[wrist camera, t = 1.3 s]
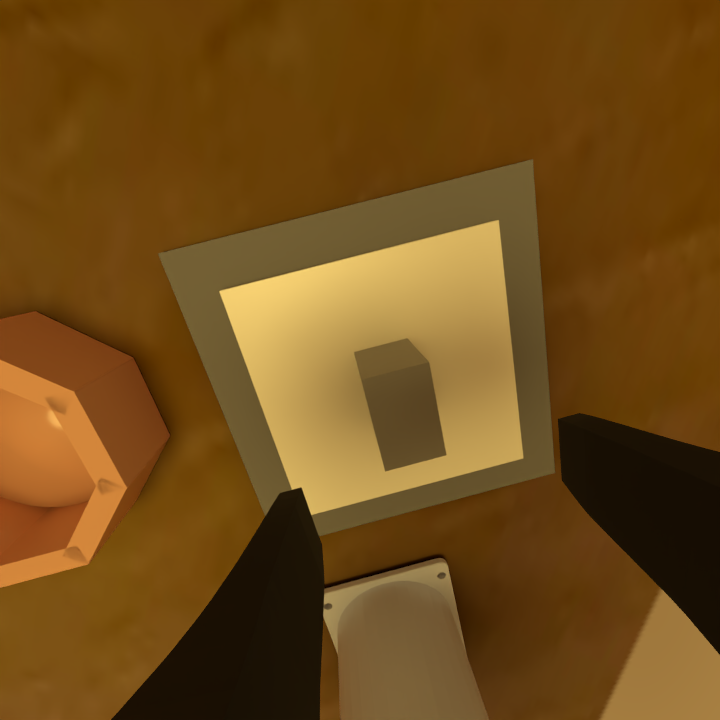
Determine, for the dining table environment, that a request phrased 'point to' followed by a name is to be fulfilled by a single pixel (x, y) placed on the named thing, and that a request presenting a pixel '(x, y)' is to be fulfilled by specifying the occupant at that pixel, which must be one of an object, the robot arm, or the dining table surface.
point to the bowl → (67, 445)
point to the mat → (351, 238)
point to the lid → (384, 366)
